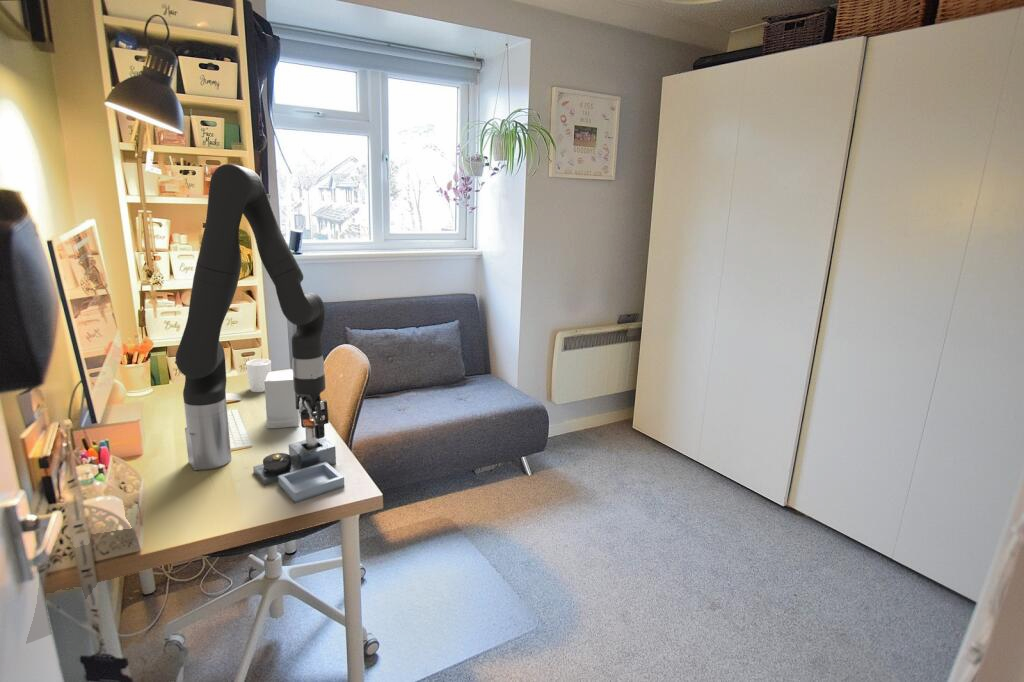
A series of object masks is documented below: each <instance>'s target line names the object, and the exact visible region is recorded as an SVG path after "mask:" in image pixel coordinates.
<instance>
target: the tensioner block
mask: <svg viewBox="0 0 1024 682" xmlns="http://www.w3.org/2000/svg"><path fill="white" fill-rule="evenodd" d="M317 440H318V448H315V449H311V450H306V439H304V440H300V441H296V442H294V443H293V442H291V443H289V444H288V453H284V452H276V453H272V454H269V455H267V456H264V458H263V459H262V464H258V465H255V466H253V473H254V474H255V475H256V477H257V478H258V479H259V480H260V481H261V482H262V483H263V485H265V486H267V485H270V484H273V483H277V482H278V476H279V475H283V474H286V473H290V472H293V471H296V470H300V469H303V468H307V467H310V466H313V465H317V464H320V463H323V462H327V463H328V464H329V465H331V466H333V465H336V464H337V460H336V459H337V456H336V455H337V454H336V445H334V443H332V442H331V441H330V440H328V439H327V438H326V437H325V436H324V437H323V438H320V439H317Z"/></svg>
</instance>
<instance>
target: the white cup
mask: <svg viewBox="0 0 1024 682" xmlns="http://www.w3.org/2000/svg"><path fill="white" fill-rule="evenodd" d="M245 365H246V366H245V367H246V372H247V373H246V374H247V380H248V385H249V391H250V392H252V393H263V392H264V393H265V383H264V382H265V379H266V376H267V374H268V372H272V361H271V360H270V359H268V358H255V359H251V360H248V361H246V363H245Z"/></svg>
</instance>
